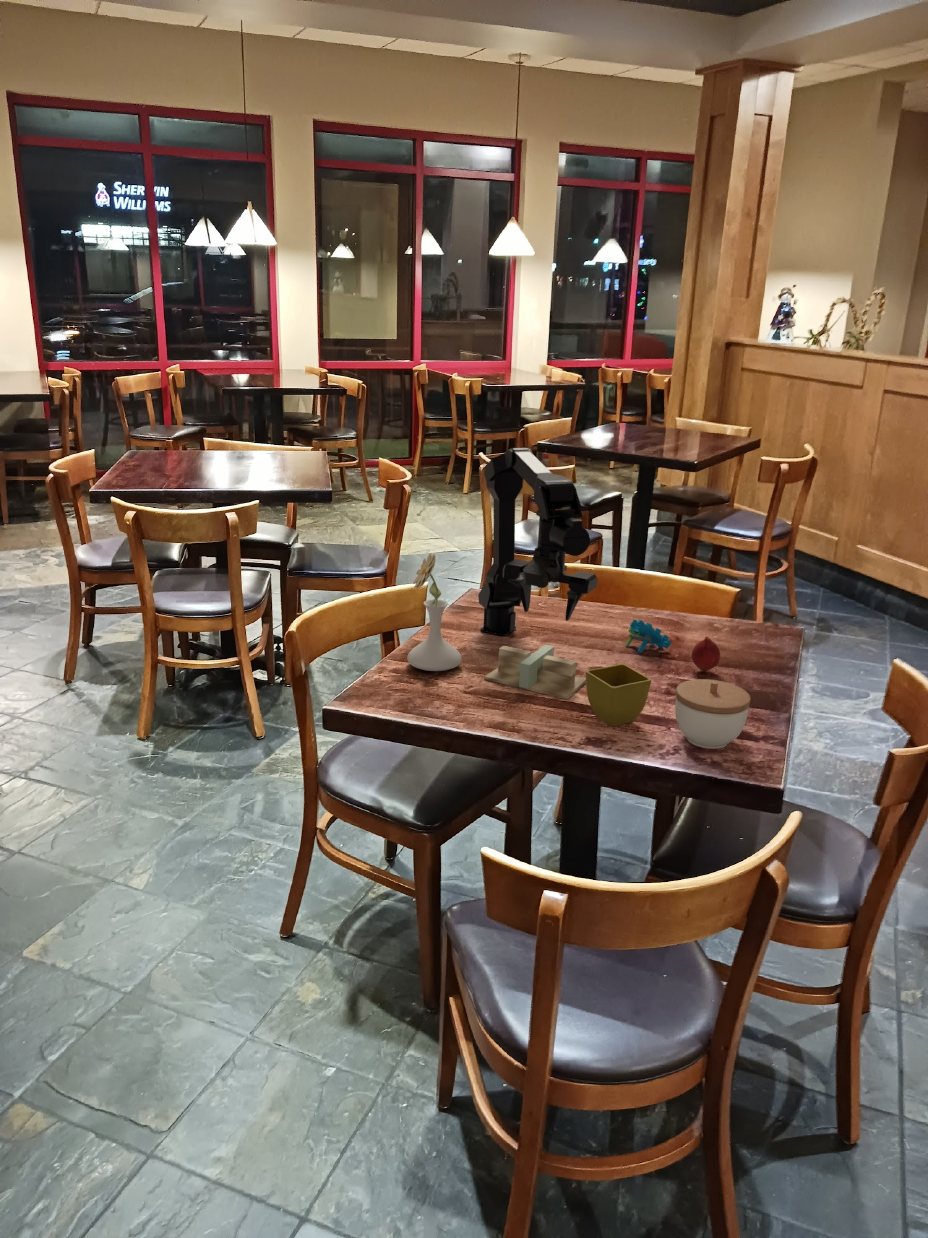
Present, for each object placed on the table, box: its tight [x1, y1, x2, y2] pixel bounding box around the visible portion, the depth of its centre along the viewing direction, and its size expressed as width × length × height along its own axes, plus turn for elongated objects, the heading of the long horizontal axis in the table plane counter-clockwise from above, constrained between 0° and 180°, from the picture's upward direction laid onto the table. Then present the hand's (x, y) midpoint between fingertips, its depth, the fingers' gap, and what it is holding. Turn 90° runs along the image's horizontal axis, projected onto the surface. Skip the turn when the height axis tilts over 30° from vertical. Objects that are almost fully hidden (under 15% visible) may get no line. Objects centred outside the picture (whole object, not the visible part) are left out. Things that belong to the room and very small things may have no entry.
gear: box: [625, 619, 672, 654], centre depth 203 cm, size 11×6×10 cm
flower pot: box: [585, 663, 652, 727], centre depth 168 cm, size 9×9×9 cm
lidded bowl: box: [674, 678, 752, 750], centre depth 161 cm, size 13×13×11 cm
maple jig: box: [484, 645, 586, 700], centre depth 185 cm, size 18×10×6 cm, turn 61°
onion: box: [690, 634, 721, 673], centre depth 192 cm, size 6×6×8 cm
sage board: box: [518, 644, 555, 690], centre depth 185 cm, size 2×12×5 cm, turn 152°
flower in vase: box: [406, 552, 463, 672], centre depth 187 cm, size 13×11×25 cm
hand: (546, 615), depth 189 cm, fingers open, 9 cm apart
